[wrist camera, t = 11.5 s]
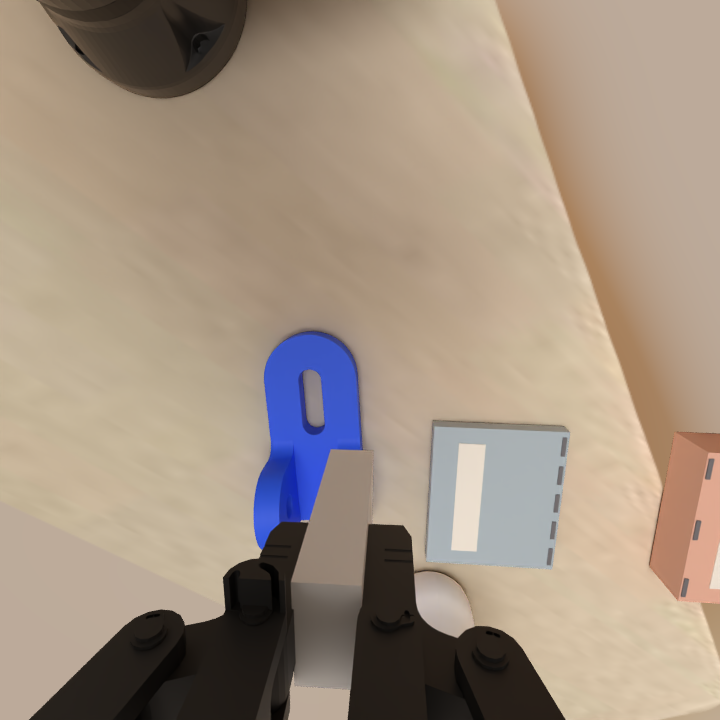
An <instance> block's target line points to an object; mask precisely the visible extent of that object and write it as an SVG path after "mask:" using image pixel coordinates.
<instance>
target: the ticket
mask: <svg viewBox="0 0 720 720" xmlns="http://www.w3.org/2000/svg"><path fill="white" fill-rule="evenodd" d="M569 438H570V432H569V431H568V430H567V429H566V428H565V427H564V426H546V425H522V424H499V423H475V422H452V421H433V429H432V445H431V462H430V479H429V496H428V513H427V530H426V547H425V554H426V562H441V563H457V564H473V565H489V566H506V567H522V568H538V569H552V567H553V559H554V552H555V544H556V536H557V529H558V521H559V514H560V506H561V498H562V491H563V483H564V476H565V468H566V460H567V453H568V445H569Z"/></svg>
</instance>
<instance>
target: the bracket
mask: <svg viewBox="0 0 720 720" xmlns="http://www.w3.org/2000/svg"><path fill="white" fill-rule="evenodd" d="M307 369H311V370H314V371H316V372H317V373H318V374H319V375H320V377H321V383H322V395H323V407H324V419H325V425H324V426H322V427H313V426H311V425H310V424H309V423H308V421H307V418H306V408H305V398H304V387H303V376H302V373H303V371H304V370H307ZM264 384H265V393H266V402H267V410H268V419H269V428H270V437H271V454H270V458H269V460H268V462H267V463H266V465H265V467H264V468H263V470H262V472H261V474H260V476H259V479H258V482H257V487H256V492H255V500H254V529H255V536H256V540H257V543H258V545H259V547H260V548H261V549H262V550H263V547H265V543H266V540H267V538H268V536H269V533H270V532H271V531H272V530H273V529H274V528H275V527H276V526H277V525H278V524H279V523H281V522H300V521H301V520H310V517H311V513H312V510H313V507H314V503H315V500H316V497H317V493H318V490H319V487H320V484H321V480H322V477H323V474H324V470H325V467H326V464H327V460H328V457H329V454H330V450H331V449H338V450H363V448H362V433H361V418H360V403H359V388H358V373H357V366H356V363H355V360H354V358H353V356H352V354H351V352H350V351H349V350H348V348H347V347H346V346H345V345H344V344H343V343H342V342H341V341H339V340H338V339H336V338H335V337H333V336H331V335H328V334H326V333H322V332H316V331H308V332H302V333H298V334H296V335H293V336H291V337H289V338H288V339H286V340H285V341H284V342H282V343H281V344H280V345H279V346H278V347H277V348H276V349H275V350H274V351H273V352H272V354H271V355H270V357H269V359H268V361H267V363H266V367H265V372H264Z"/></svg>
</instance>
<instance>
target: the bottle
mask: <svg viewBox="0 0 720 720" xmlns="http://www.w3.org/2000/svg"><path fill="white" fill-rule="evenodd" d="M414 579H415V593H416V604H417V609H418V612H419V613H420V615H421V617H422V618H423V619H424V620H425V621H426V622H427V624H429V625H430V626H432V627H433V628H434V629H436V630H438V631H440V632H443V633H445V634H448V635H451V636H454V637H457V638H458V637H459V636H460V635H461V634H462V633H463V632H464V631H465V630H467V629H469V628H472V627H474V620H473V615H472V611H471V607H470V603H469V600H468V598H467V596H466V594H465V592H464V591H463V589H462V588H461V586H460V585H459V584H458V583H457V582H455V581H454V580H453V579H452V578H450V577H448V576H446V575H444V574H442V573H438V572H431V571H424V572H419V573H415V574H414Z"/></svg>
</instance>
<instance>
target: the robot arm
mask: <svg viewBox="0 0 720 720" xmlns="http://www.w3.org/2000/svg"><path fill="white" fill-rule="evenodd" d="M37 1H38V2H40V3H41V5H42V6H43V8H44V9H45V11H46V12H47V13H48V15H49V16H50V18H51V19H52V20H53V22H54V23H55V24H56V25H57V26H58V28H59V30H60V31H61V33H62V34H63V36H64V37H65V39H66V40H67V42H68V43H69V44H70V46H71V47H72V48H73V50H74V51H75V52H76V53H77V54H78V55H79V56H80V57H81V58H82V59H83V60H84V61H85V62H86V63H87V64H88V65H89V66H90V67H91V68H93V69H94V70H95V71H96V72H98V73H99V74H101V75H102V76H104V77H105V78H107V79H109V80H110V81H112V82H113V83H115V84H116V85H118V86H120V87H122V88H124V89H126V90H128V91H130V92H133V93H135V94H139V95H142V96H147V97H154V98H168V97H175V96H180V95H183V94H186V93H189V92H191V91H194V90H196V89H198V88H199V87H201V86H203V85H204V84H206V83H207V82H208V81H210V80H211V79H212V78H213V77H214V76H216V74H217V73H218V72H219V71H220V70H221V69H222V68H223V67H224V66H225V64H226V63H227V61H228V60H229V58H230V57H231V55H232V53H233V52H234V50H235V48H236V46H237V43H238V41H239V39H240V36H241V33H242V29H243V25H244V21H245V16H246V8H247V0H37ZM372 516H373V451H368V450H338V449H331V450H330V454H329V457H328V460H327V464H326V467H325V470H324V474H323V477H322V480H321V484H320V487H319V490H318V493H317V497H316V500H315V503H314V507H313V510H312V513H311V517H310V520H309V523H304V522H281V523H279V524H278V525H277V526H276V527H275V528H274V529H273V530H272V531H271V532H270V533H269V536H268V538H267V540H266V543H265V547H263V550H262V552H261V554H260V557H259V559H250V560H247V561H244V562H241V563H239V564H237V565H236V566H234V567H233V568H231V569H229V571H228V572H227V573H226V574H225V576H224V577H223V584H224V597H225V609H226V610H225V613H224V615H222V616H220V617H218V618H216V619H212V620H209V621H205V622H201V623H196V624H191V625H186V626H185V624H184V621H183V619H182V617H181V616H180V615H179V614H177V613H175V612H174V611H170V610H156V611H151V612H147V613H145V614H143V615H141V616H138V617H136V618H134V619H133V620H132V621H131V622H129V623H128V624H127V625H125V626H124V627H123V628H122V629H121V630H120V631H119V632H118V633H117V634H116V635H115V636H114V637H113V638H112V639H111V640H110V641H109V642H108V643H107V644H106V645H105V646H104V647H103V648H101V649H100V651H99V652H97V653H96V654H95V656H93V657H92V658H91V660H89V661H88V662H87V664H85V665H84V666H83V667H82V668H81V669H80V670H79V671H78V672H77V673H76V674H75V675H74V676H73V677H72V678H71V679H70V680H69V681H68V682H67V683H66V684H65V685H64V686H63V687H62V688H61V689H60V690H59V691H58V692H57V693H56V694H55V695H54V696H53V697H52V698H51V699H50V700H49V701H48V702H47V703H46V704H45V705H44V706H43V707H42V708H41V709H40V710H38V711H37V712H36V713H35V714H34V716H32V717H31V718H30V719H29V720H288V716H289V712H290V691H289V690H290V685H291V681H292V677H293V672H294V682H295V683H294V684H295V686H303V687H318V688H334V689H349V690H350V701H349V712H348V720H565V718H564V716H563V715H562V713H561V711H560V710H559V708H558V707H557V705H556V703H555V702H554V700H553V698H552V697H551V695H550V693H549V692H548V690H547V688H546V687H545V685H544V684H543V682H542V680H541V679H540V677H539V675H538V674H537V672H536V670H535V669H534V667H533V665H532V664H531V662H530V661H529V659H528V657H527V656H526V654H525V652H524V651H523V649H522V648H521V647H520V645H519V644H518V643H517V642H516V641H515V640H514V638H512V637H511V636H509V635H508V634H506V633H505V632H503V631H501V630H498V629H495V628H492V627H489V626H475V627H472V628H469V629H467V630H465V631H464V632H463V633H462V634H461V635H460V636H459V637H458V638H457V637H454V636H451V635H448V634H445V633H443V632H440V631H438V630H436V629H434V628H433V627H432V626H430V625H429V624H427V622H426V621H425V620H424V619H423V618H422V617H421V615H420V613H419V612H418V609H417V604H416V593H415V579H414V566H413V552H412V538H411V536H410V534H409V533H408V531H407V530H406V529H405V527H404V526H403V525H380V524H372Z"/></svg>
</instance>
